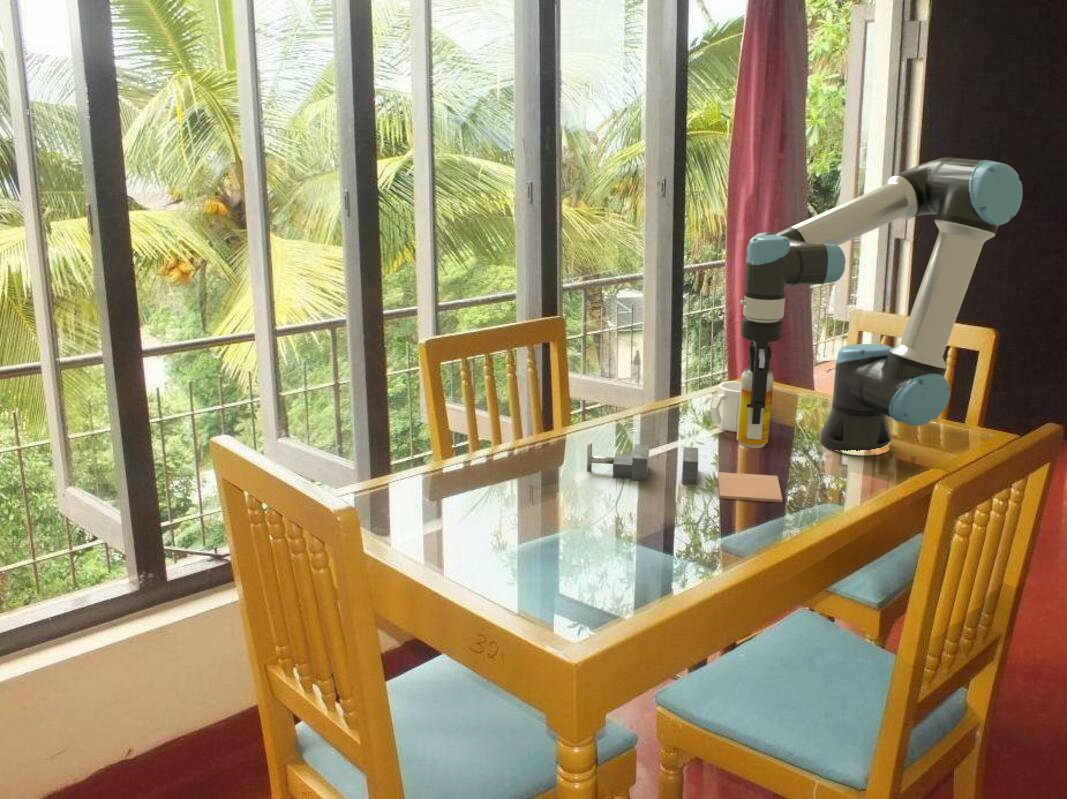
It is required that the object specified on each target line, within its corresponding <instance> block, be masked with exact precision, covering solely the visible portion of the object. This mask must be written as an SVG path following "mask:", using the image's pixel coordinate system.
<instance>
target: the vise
mask: <svg viewBox="0 0 1067 799" xmlns="http://www.w3.org/2000/svg"><path fill="white" fill-rule="evenodd" d="M586 450H587V451H586V472H592V468H593V467H592V466H593V464H604V465H612V478H616V479H617V478H618V479H631V481H632V482H633V481H634V482H647V481H648V472H649V470H648V469H649V458H650V444H637V443H635V444H634V448H633V453H631V454H630V453H629V454H628V453H627V454H626V453H615V454H614V457H613V456H612V457H610V456H597V455H596V456H594V455H593V443H592V442H588V443H587V448H586ZM682 453H683V454H682V467H681V468H682V472H681V475H682V476H681V484H682V485H693V486H694V485H696V486H697V485H698V471H699V447H689V446H688V447H687V446H683V452H682Z"/></svg>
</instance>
